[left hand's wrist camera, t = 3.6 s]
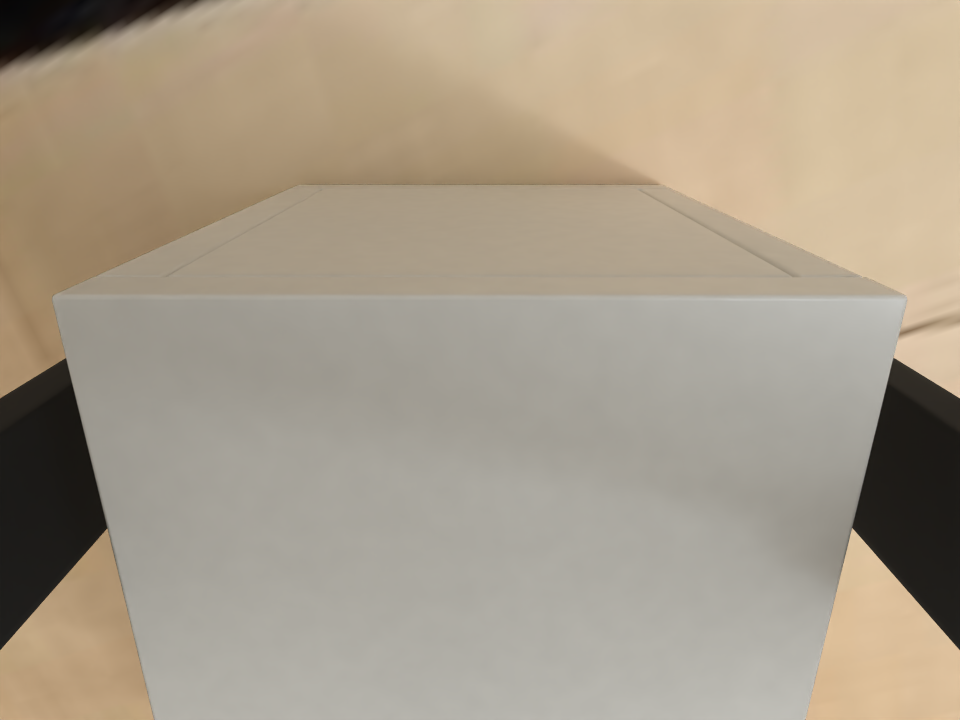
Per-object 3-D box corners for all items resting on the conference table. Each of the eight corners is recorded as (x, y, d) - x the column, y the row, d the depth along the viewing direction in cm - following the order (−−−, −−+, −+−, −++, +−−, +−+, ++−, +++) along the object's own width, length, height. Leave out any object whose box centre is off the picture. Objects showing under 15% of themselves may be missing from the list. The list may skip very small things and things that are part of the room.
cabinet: (613, 709, 24) (706, 1135, 14) (347, 708, 24) (253, 1134, 14) (665, 184, 18) (911, 294, 7) (295, 184, 18) (47, 294, 8)
